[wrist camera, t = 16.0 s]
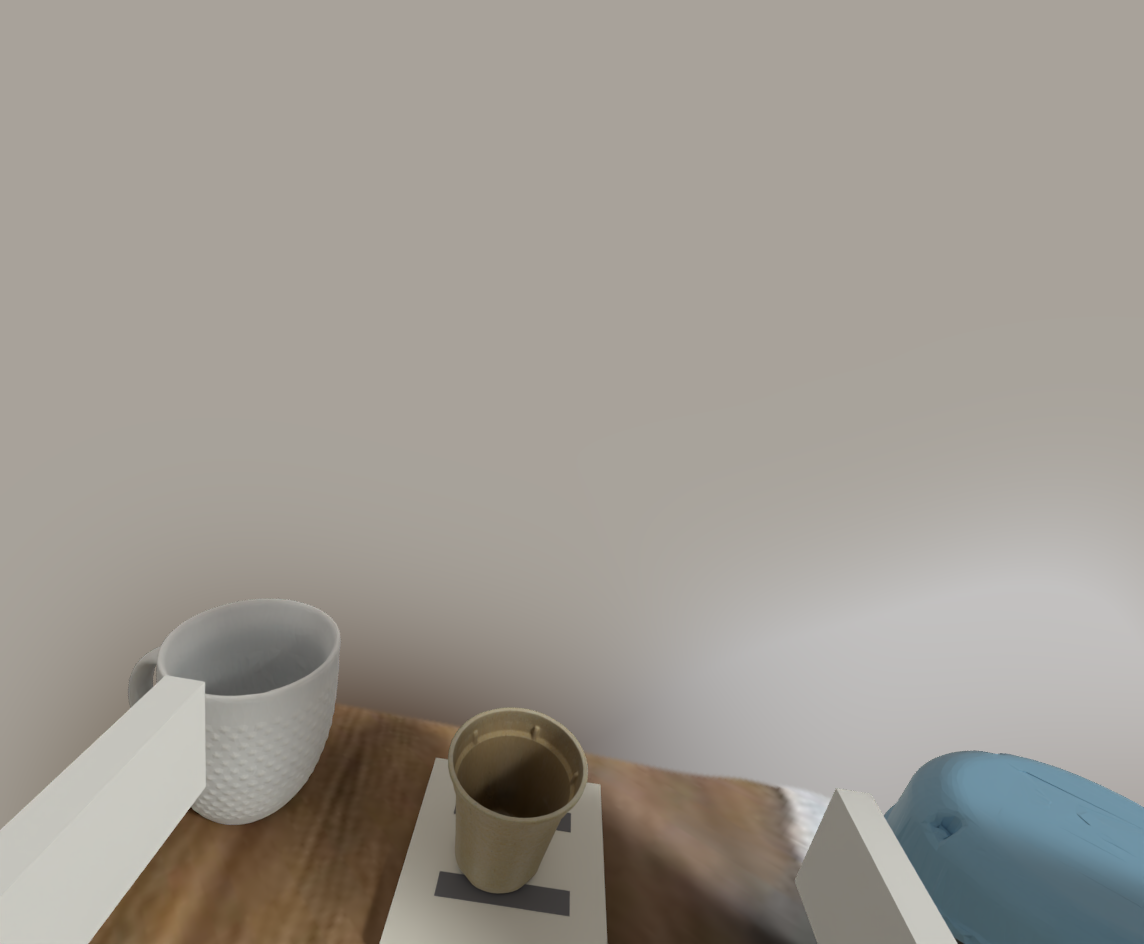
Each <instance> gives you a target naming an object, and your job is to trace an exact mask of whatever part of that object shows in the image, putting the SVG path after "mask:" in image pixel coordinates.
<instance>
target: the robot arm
mask: <svg viewBox="0 0 1144 944" xmlns="http://www.w3.org/2000/svg"><path fill="white" fill-rule="evenodd" d="M205 787H206V760H205V682H203V681H197V680H191V679H185V678H180V677H174V676H168V675H165V676H164V677H163V678H162V679H161V680H160V681H159V682H158V683H157V684H156V685H155V686H154V687H153V688H152V689H150V690H149V691H148V692H147V693H146V694H145V695H144V696H143V697H142V698H141V699H140V700H139V701H138V702H137V703H135V704H134V705H133V706H132V707H131V708H130V709H129V710H128V711H127V712H126V713H125V714H124V715H123V716H122V717H120V719H118V720H117V721H116V722H115V723H114V724H113V725H112V726H111V727H110V728H109V729H108V730H107V731H105V732H104V733H103V734H102V735H101V736H100V737H99V738H98V739H97V740H96V741H95V742H94V743H93V744H92V745H91V746H89V747H88V748H87V749H86V750H85V751H84V752H83V753H82V754H81V755H80V756H79V757H78V758H77V759H76V760H74V762H72V763H71V764H70V765H69V766H68V767H67V768H66V769H65V770H64V771H63V772H62V773H61V774H59V775H58V776H57V777H56V778H55V779H54V780H53V781H52V782H51V783H50V784H49V785H48V786H47V787H46V788H45V789H43V790H42V791H41V792H40V793H39V794H38V795H37V796H36V797H35V798H34V799H33V800H32V801H31V802H30V803H29V804H27V805H26V806H25V807H24V808H23V809H22V810H21V811H20V812H19V813H18V814H17V815H16V816H15V817H14V818H12V819H11V820H10V821H9V822H8V823H7V824H6V825H5V826H4V827H3V828H2V829H1V830H0V944H88V943H89V942H90V941H91V939H92V938H93V937H94V935H95V934H96V933H97V931H98V930H99V929H100V927H101V926H102V925H103V923H104V922H105V921H106V919H107V918H108V917H109V915H110V914H111V913H112V911H113V910H114V909H115V907H116V906H117V905H118V903H119V902H120V901H121V899H122V898H123V897H124V895H125V894H126V893H127V891H128V890H129V889H130V887H131V886H132V885H133V883H134V882H135V881H136V879H137V878H138V877H139V875H140V874H141V873H142V871H143V870H144V869H145V867H146V866H147V865H148V863H149V862H150V861H151V859H152V858H153V857H154V855H155V854H156V853H157V851H158V850H159V848H160V847H161V846H162V844H163V843H164V842H165V840H166V839H167V838H168V836H169V835H170V834H171V832H172V831H173V830H174V828H175V827H176V826H177V824H178V823H179V822H180V820H181V819H182V818H183V816H184V815H185V814H186V812H187V811H188V810H189V808H190V807H191V806H192V804H193V803H194V802H195V800H196V799H197V798H198V796H199V795H200V794H201V792H202V791H203V790H204V788H205ZM795 883H796V886H797V888H798V891H799V894H800V897H801V899H802V902H803V905H804V908H805V910H806V913H807V916H808V918H809V921H810V924H811V927H812V929H813V932H814V935H815V938H816V940H817V943H818V944H1144V807H1142V806H1140V805H1139V804H1137V803H1135V802H1133V801H1131V800H1129V799H1128V798H1126V797H1124V796H1122V795H1120V794H1118V793H1115V792H1114V791H1111V790H1109V789H1108V788H1105V787H1104V786H1101V785H1099V784H1097V783H1095V782H1092V781H1090V780H1087V779H1085V778H1083V777H1081V776H1078V775H1076V774H1073V773H1071V772H1068V771H1065V770H1063V769H1060V768H1057V767H1054V766H1051V765H1048V764H1045V763H1042V762H1038V761H1035V760H1031V759H1028V758H1023V757H1019V756H1015V755H1011V754H1002V753H1000V754H993V753H988V752H983V751H960V752H954V753H949V754H945V755H942V756H939V757H937V758H934V759H932V760H931V761H929V762H927V763H926V764H924V765H923V766H922V767H921V768H920V769H919V770H918V771H917V772H916V773H915V774H914V775H913V777H912V779H911V781H910V782H909V784H908V785H907V787H906V788H905V790H904V792H903V793H902V795H901V797H900V798H899V800H898V802H897V803H896V804H895V805H894V806H892V807H891V808H890V809H889V810H888V811H887V812H886V813H885V815H884V816H883V814H882V812H881V811H880V809H879V807H878V805H877V804H876V802H875V800H874V798H873V797H872V795H871V794H869V793H863V792H857V791H851V790H845V789H838V788H836V790H835V792H834V794H833V797H832V799H831V801H830V803H829V805H828V807H827V810H826V812H825V814H824V816H823V819H822V821H821V823H820V825H819V827H818V830H817V832H816V834H815V836H814V839H813V841H812V843H811V845H810V847H809V850H808V852H807V854H806V856H805V859H804V861H803V863H802V865H801V867H800V870H799V872H798V874H797V876H796V879H795Z"/></svg>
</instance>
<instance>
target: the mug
mask: <svg viewBox="0 0 1144 944" xmlns="http://www.w3.org/2000/svg"><path fill="white" fill-rule="evenodd" d="M340 638H341V637H340V631H339V628H338V626H337V624H336V623H335V621H334V620H333V619H332V618H331V617H330V616H329V615H328V614H326V613H325V612H323V611H322V610H320V609H318V608H316V607H314V606H311V605H308V604H305V603H302V602H298V601H293V600H286V599H271V598H268V599H252V600H245V601H239V602H233V603H229V604H225V605H221V606H219V607H215V608H212V609H209V610H206V611H204V612H202V613H199V614H197V615H195V616H193V617H191V618H190V619H188V620H186V621H185V622H183V623H182V624H180V625H179V626H178V627H176V628H175V629H174V630H173V631H172V632H171V633H170V634H169V635H168V636H167V637H166V638H165V640H164V641H163V643H162V644H161V646H159V647H157V648H155V649H153V650H151V651H150V652H148V653H147V654H145V655H144V656H143V657H142V658H141V659H140V660H139V661H138V663H137V664H136V665H135V667H134V669H133V671H132V673H131V676H130V680H129V687H128V697H129V704H130V708H131V707H132V706H133V705H134V704H135V703H137V702H138V701H139V700H140V699H141V698H142V697H143V696H144V695H145V694H146V693H147V692H148V691H149V690H150V689H152V688H153V675H154V668H155V666H156V664H157V683H158V682H159V681H160V680H161V679H162V678H163V677H164V676H165V675H168V676H174V677H180V678H185V679H191V680H197V681H203V682H205V760H206V787H205V788H204V790H203V791H202V792H201V794H200V795H199V796H198V798H197V799H196V800H195V802H194V803H193V804H192V806H191V807H192V809H193V810H194V811H196V812H197V813H199V814H200V815H202V816H203V817H205V818H207V819H209V820H211V821H214V822H217V823H221V824H227V825H240V824H247V823H251V822H254V821H257V820H260V819H263V818H265V817H267V816H269V815H271V814H272V813H274V812H276V811H277V810H279V809H280V808H281V807H283V806H284V805H285V804H286V803H288V802H289V801H290V800H291V799H292V798H293V797H294V796H295V795H296V794H297V792H299V790H300V789H301V788H302V786H303V785H304V784H305V783H306V782H307V781H308V778H309V776H310V775H311V773H312V772H313V771H314V768H315V765H316V764H317V762H318V761H319V758H320V755H321V753H322V751H323V749H324V746H325V742H326V740H327V738H328V735H329V729H330V727H331V725H332V717H333V714H334V709H335V700H336V691H337V686H338V673H339V655H340V644H341V639H340Z"/></svg>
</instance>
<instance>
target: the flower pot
mask: <svg viewBox="0 0 1144 944" xmlns="http://www.w3.org/2000/svg"><path fill="white" fill-rule="evenodd" d="M448 769H449V774H450V778H451V780H452V783H453V786H454V791H455V793H456V836H455V856H456V862H457V864H458V867H459V868H460V869H461V871H462V872H463V873H464V874H465V876H466V877H467V878H468V880H469V881H470V882H471V883H472V885H474V886H475V887H477V888H478V889H481V890H483V891H486V892H490V893H497V894H498V893H509V892H513V891H515V890H518V889H519V888H521V887H522V886H523V885H524V884H526V883H527V882H528V881H529V880H530V879H531V878H532V877H533V876H534V875H535V874H536V872H537V871H538V868H539V866H540V863H541V861H542V859H543V857H544V855H545V853H546V850H547V848H548V846H549V844H550V842H551V840H552V838H553V835H554V833H555V831H556V829H557V827H558V825H559V823H560V821H561V819H562V818H563V817H564V816H565V815H566V813H567V812H568V811H570V810H571V809H572V808H573V807H574V806H575V805H576V803H577V802H578V801H579V799H580V798H581V796H582V794H583V792H584V789H585V786H586V783H587V778H588V764H587V760H586V757H585V754H584V751H583V749H582V747H581V745H580V744H579V742H578V741H577V739H576V738H575V736H573V734H572V733H571V732H570V731H569V730H568V729H567V728H566V727H565V726H563V725H562V724H561V723H559V722H557V721H556V720H554V719H553V718H551V717H549V716H547V715H545V714H543V713H540V712H537V711H533V710H530V709H525V708H498V709H494V710H489V711H485V712H483V713H480V714H478V715H476V716H474V717H472V718H471V719H470V720H468V721H467V722H465V723H464V724H463V725H462V726H461V727H460V728H459V730H458V731H457V732H456V734H455V736H454V738H453V740H452V742H451V745H450V748H449V754H448Z"/></svg>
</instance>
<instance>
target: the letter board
mask: <svg viewBox="0 0 1144 944" xmlns="http://www.w3.org/2000/svg"><path fill="white" fill-rule="evenodd" d="M455 836H456V793H455V791H454V786H453V783H452V780H451V778H450V774H449V769H448V759H442V758H436V760H435V763H434V766H433V769H432V773H431V776H430V779H429V783H428V786H427V789H426V792H425V796H424V799H423V802H422V806H421V809H420V812H419V815H418V819H417V822H416V825H415V829H414V832H413V835H412V838H411V842H410V845H409V848H408V852H407V855H406V858H405V861H404V865H403V868H402V871H401V875H400V878H399V881H398V884H397V888H396V891H395V894H394V898H393V901H392V904H391V907H390V911H389V914H388V917H387V921H386V924H385V927H384V930H383V934H382V937H381V940H380V944H607V925H606V902H605V879H604V856H603V833H602V810H601V787H600V785H599V784H593V783H586V786H585V789H584V792H583V794H582V796H581V798H580V799H579V801H578V802H577V803H576V805H575V806H574V807H573V808H572V809H571V810H570V811H568V812H567V813H566V815H565V816H564V817H563V818H562V819H561V821H560V823H559V825H558V827H557V829H556V831H555V833H554V835H553V838H552V840H551V842H550V844H549V846H548V848H547V850H546V853H545V855H544V857H543V859H542V861H541V863H540V866H539V868H538V871H537V872H536V874H535V875H534V876H533V877H532V878H531V879H530V880H529V881H528V882H527V883H526V884H524V885H523V886H522V887H521V888H519V889H518V890H515V891H513V892H509V893H498V894H497V893H490V892H486V891H483V890H481V889H478V888H477V887H475V886H474V885H472V883H471V882H470V881H469V880H468V878H467V877H466V876H465V874H464V873H463V872H462V871H461V869H460V868H459V867H458V864H457V862H456V856H455Z"/></svg>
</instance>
